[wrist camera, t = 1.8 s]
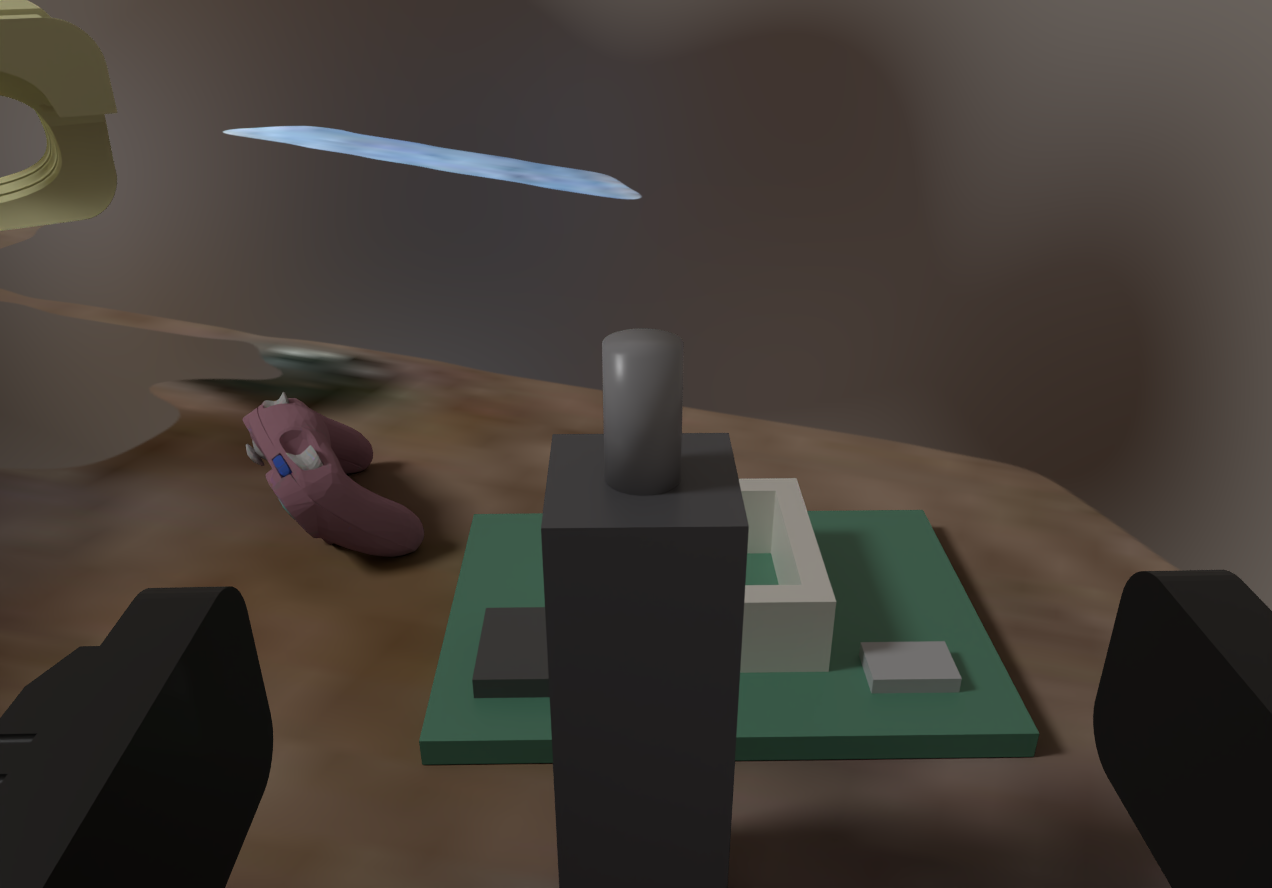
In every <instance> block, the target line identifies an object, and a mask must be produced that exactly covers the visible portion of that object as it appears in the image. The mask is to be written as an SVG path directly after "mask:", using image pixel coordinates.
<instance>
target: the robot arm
mask: <svg viewBox="0 0 1272 888" xmlns="http://www.w3.org/2000/svg"><path fill="white" fill-rule="evenodd" d="M1093 726H1094V736H1095V743H1096V747H1097V751H1098V755H1099V758H1100V761H1101V764H1102V766H1103V769H1104V771H1105V773H1106V775H1107V777H1108V779H1109V780H1110V782H1111V784H1112V786H1113V787H1114V789H1115V791H1116V793H1117V794H1118V796H1119V798H1120V799H1121V801H1122V803H1123V805H1124V806H1125V808H1126V810H1127V811H1128V813H1129V815H1130V817H1131V818H1132V820H1133V822H1134V823H1135V825H1136V827H1137V829H1138V830H1139V832H1140V834H1141V835H1142V837H1143V839H1144V841H1145V842H1146V844H1147V846H1148V847H1149V849H1150V851H1151V853H1152V854H1153V856H1154V858H1155V859H1156V861H1157V863H1158V865H1159V866H1160V868H1161V870H1162V872H1163V873H1164V875H1165V877H1166V878H1167V880H1168V882H1169V884H1170V885H1171V887H1172V888H1272V611H1271V610H1270V609H1269V608H1268V607H1267V606H1266V605H1265V604H1264V603H1263V602H1262V601H1261V600H1260V599H1259V597H1258V596H1256V594H1255V593H1254V592H1253V591H1252V590H1251V589H1250V588H1249V587H1248V586H1247V585H1246V584H1245V583H1244V582H1243V581H1242V580H1241V579H1240V578H1239V577H1237V576H1236V575H1235V574H1233V573H1231V572H1230V571H1226V570H1190V571H1141V572H1137V573H1135V574H1134V575H1132V576H1131V577H1130V579H1129V580H1128V581H1127V583H1126V585H1125V587H1124V589H1123V593H1122V596H1121V600H1120V604H1119V608H1118V612H1117V616H1116V620H1115V624H1114V628H1113V632H1112V636H1111V640H1110V644H1109V648H1108V652H1107V656H1106V660H1105V664H1104V668H1103V672H1102V676H1101V680H1100V684H1099V688H1098V692H1097V696H1096V700H1095V705H1094V714H1093ZM272 752H273V727H272V719H271V713H270V709H269V704H268V700H267V696H266V691H265V687H264V682H263V678H262V673H261V669H260V665H259V660H258V656H257V651H256V647H255V642H254V638H253V634H252V629H251V625H250V620H249V616H248V611H247V608H246V604H245V601H244V599H243V597H242V595H241V593H240V592H239V591H238V590H237V589H236V588H234V587H184V588H147V589H145V590H143V591H141V592H140V593H139V594H138V595H137V596H136V597H135V598H134V600H133V601H132V602H131V604H130V605H129V607H128V608H127V609H126V611H125V612H124V614H123V615H122V616H121V618H120V619H119V620H118V622H117V623H116V625H115V626H114V627H113V629H112V630H111V632H110V633H109V634H108V636H107V637H106V638H105V640H104V641H103V643H102V644H101V645H100V646H83V647H79V648H77V649H76V650H75V651H73V652H72V653H71V654H69V655H68V656H66V657H65V658H64V659H62V660H61V661H60V662H58V663H57V664H55V665H54V666H53V667H51V668H50V669H49V670H47V671H46V672H45V673H43V674H42V675H40V676H39V677H38V678H36V679H35V680H34V681H32V682H31V683H29V684H28V685H27V686H25V687H24V689H23V690H22V691H21V692H20V694H19V695H18V696H17V697H16V699H15V700H14V701H13V703H12V704H11V705H10V706H9V708H8V709H7V710H6V712H5V713H4V714H3V715H2V717H1V718H0V888H225V886H226V884H227V881H228V879H229V876H230V874H231V872H232V869H233V867H234V864H235V862H236V859H237V857H238V854H239V852H240V850H241V847H242V845H243V842H244V840H245V837H246V835H247V832H248V830H249V828H250V825H251V823H252V820H253V818H254V815H255V813H256V810H257V808H258V805H259V803H260V801H261V798H262V796H263V793H264V791H265V788H266V785H267V781H268V778H269V773H270V768H271V761H272Z"/></svg>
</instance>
